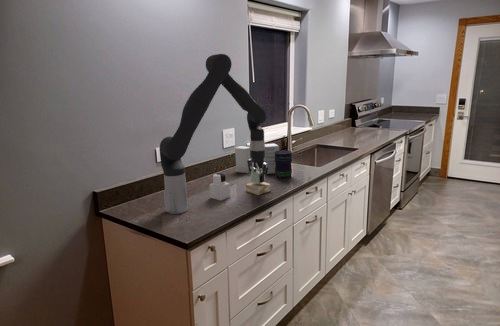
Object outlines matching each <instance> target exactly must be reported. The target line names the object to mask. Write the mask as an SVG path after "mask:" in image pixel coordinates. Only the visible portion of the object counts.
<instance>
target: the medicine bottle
mask: <svg viewBox="0 0 500 326" xmlns="http://www.w3.org/2000/svg"><path fill="white" fill-rule="evenodd" d="M226 178H227V176H226V174H225V173H223V172H217V173H215V174H213V175H212V181H213V182H212V183H210V184H209V193H210V194H209V195H210V196H209V197H210V199H213V200H216V201H220V202H221V201H223V200H225V199H228V198H230V197H231V184H230V182H227V181H226V180H227V179H226Z"/></svg>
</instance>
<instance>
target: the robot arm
mask: <svg viewBox="0 0 500 326" xmlns="http://www.w3.org/2000/svg"><path fill="white" fill-rule="evenodd" d="M232 66H233V65H232V60H231V57H230V56H229V55H227V54H226V53H218V54H217V53H216V54H211V55H210V56H208V57H207V59H206V61H205V69H206V71H207V72H208V73H207V74H206V77H205V78H204V79H203V80H202V82H201V83H200V84H199V85H198V86H197V87H196V88H195V89H194V90H193V91H192V92H191V94H190V95H189V96H188V99H187V100H186V103H185V104H184V106H183V109H182V112H181V119H180V122H179V125H178V127H177V129H176V132H174V134H173V136H166V137H164V138H163V139H162V140H161V141H160V143H159V157H160V164H161V168H162V172H163V181H164V190H163V191H162V192H163V202H164V211H165V212H166V213H168V214H170V215H177V214H183V213H185V212H187V211H188V210H189V209H188V206H189V205H188V193H187V181H186V169H185V166H184V164H183V162H182V159H181V158H183V157H184V155H185V154H186V152H187V151H188V147H189V145H190V143H191V141H192V139H193V137H194V136H193V135H194V133H195V131H196V130H197V128H198V127H199V125H200V123H201V122H202V119H203V118H204V115H206V112H207V110H208V108H209V107H210V104H211V102H212V101H213V99H214V98H215V95H217V92H218V90H219V88H220V86H222V87H223V88H224V89H225V90H226V91H227V92H228V93H229V94H230V95H231V96H232V98H233V99H234V100H235V103H236V104H238V106H239V107H240V108H241V109H242V110H243V111H244V112H246V113H247V114H246V120H247V125H248V129H249V147H250V158H251V160H247V163H248V168H249V171H251V172H250V174H251V173H252V172H255V171H259V174H260V183H262V182H264V175H265V176H266V175H268V174H267V172H268V166H269V164H268V163H267V164H266V163H265V162H264V158H265V144H266V143H265V130H264V129H263V128H262V127H261V124H263V123H265V122H266V121H267V117H268V116H267V112H266V111H265V110H264V108H263V107H262V106H261V105H260V104H259V103H258V102H256V100H254V98H253V97H252V95H251V94H250V93H249V91H248V90H247V89H246V88H245V87H244V86H242V84H240V83H239V82H238V81H237V80H236V79H234V78H233V76H232V75H231V74H230V71H231V68H232ZM261 168H262V169H261Z"/></svg>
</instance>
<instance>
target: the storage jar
mask: <svg viewBox="0 0 500 326" xmlns="http://www.w3.org/2000/svg"><path fill="white" fill-rule="evenodd" d="M292 155H293V154H292V151H291V150H286V149H285V150H284V149H282V150H280V149H279V151H275V173H274V177H275V179H277V180H283V181H284V180H285V181H286V180H290V179H292V173H293V169H292V162H293V160H292V159H293V156H292Z"/></svg>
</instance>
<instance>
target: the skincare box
mask: <svg viewBox="0 0 500 326" xmlns="http://www.w3.org/2000/svg"><path fill="white" fill-rule="evenodd" d="M234 154H235V155H234V156H235V169H236V170H235V171H236V173H242V174H249V173H251V171H249V168H248V163H247V160H251V158H250V146H245V145H244V146H242V145H239V146H236V147H234Z"/></svg>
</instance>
